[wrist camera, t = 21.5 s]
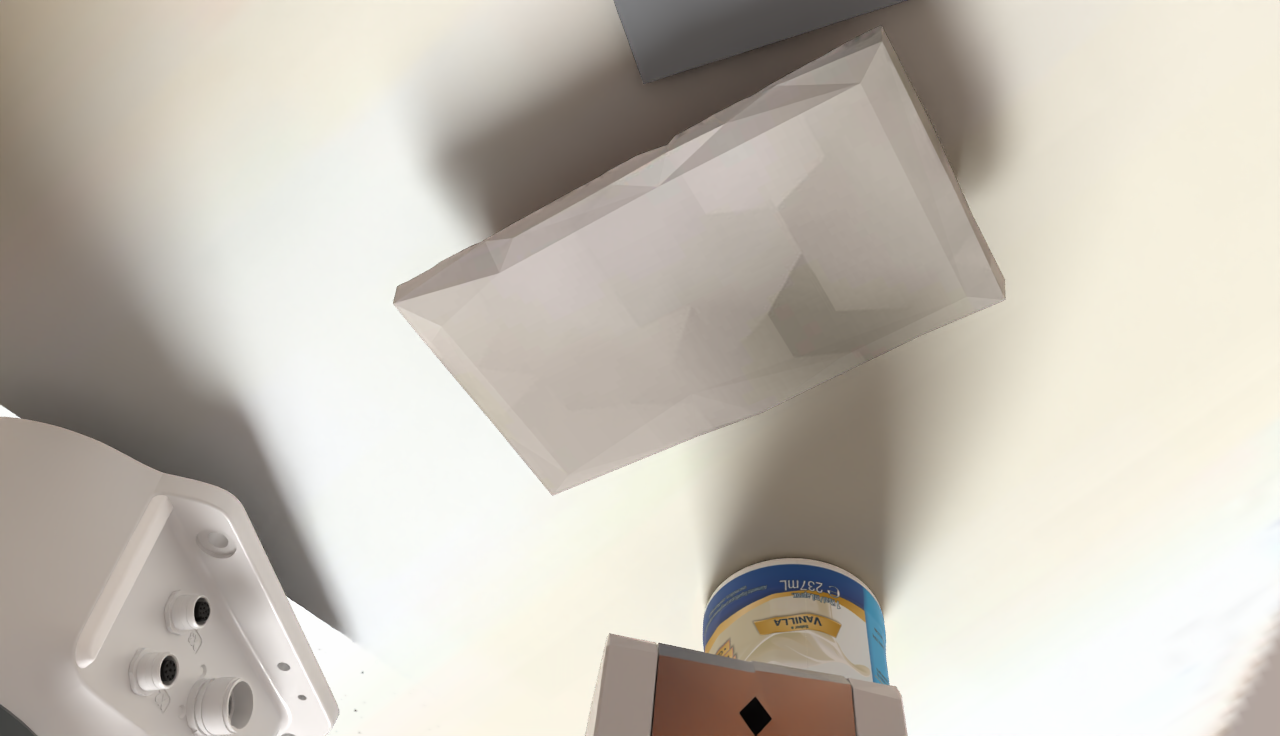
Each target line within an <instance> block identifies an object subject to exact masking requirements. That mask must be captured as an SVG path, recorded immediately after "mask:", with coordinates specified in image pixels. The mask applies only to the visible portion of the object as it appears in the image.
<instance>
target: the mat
mask: <svg viewBox="0 0 1280 736" xmlns="http://www.w3.org/2000/svg"><path fill="white" fill-rule="evenodd" d="M903 1H907V0H614V3H615V6H616V8H617V11H618V14H619V17H620V20H621V22H622V25H623V28H624V31H625V33H626V36H627V39H628V42H629V45H630V47H631V50H632V53H633V56H634V58H635V61H636V64H637V67H638V70H639V72H640V75H641V78H642V81H643V83H644V84H646V83H649V82H652V81H655V80H658V79H662V78H665V77H668V76H671V75H674V74H677V73H680V72H684V71H687V70H690V69H693V68H696V67H699V66H702V65H706V64H709V63H712V62H715V61H718V60H721V59H724V58H728V57H731V56H734V55H737V54H740V53H743V52H746V51H750V50H753V49H756V48H759V47H762V46H765V45H768V44H772V43H775V42H778V41H781V40H784V39H787V38H790V37H794V36H797V35H800V34H803V33H806V32H809V31H812V30H815V29H819V28H822V27H825V26H828V25H831V24H834V23H837V22H841V21H844V20H847V19H850V18H853V17H856V16H859V15H863V14H866V13H869V12H872V11H875V10H878V9H881V8H885V7H888V6H891V5H894V4H897V3H900V2H903Z"/></svg>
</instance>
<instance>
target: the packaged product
mask: <svg viewBox="0 0 1280 736" xmlns="http://www.w3.org/2000/svg"><path fill="white" fill-rule="evenodd" d="M1004 300H1005V279H1004V277H1003V275H1002V273H1001V271H1000V269H999V267H998V265H997V263H996V261H995V259H994V257H993V255H992V253H991V251H990V249H989V247H988V245H987V243H986V241H985V239H984V237H983V235H982V233H981V231H980V229H979V227H978V225H977V223H976V221H975V219H974V217H973V215H972V213H971V211H970V208H969V206H968V204H967V202H966V199H965V197H964V195H963V193H962V190H961V188H960V186H959V184H958V181H957V179H956V177H955V175H954V173H953V170H952V168H951V166H950V164H949V161H948V159H947V157H946V155H945V152H944V150H943V148H942V146H941V144H940V141H939V139H938V137H937V135H936V132H935V130H934V128H933V126H932V124H931V122H930V120H929V118H928V116H927V114H926V112H925V110H924V108H923V106H922V104H921V102H920V100H919V98H918V96H917V94H916V92H915V90H914V88H913V86H912V84H911V82H910V80H909V78H908V76H907V74H906V72H905V70H904V68H903V66H902V64H901V62H900V61H899V59H898V57H897V55H896V53H895V51H894V49H893V47H892V45H891V43H890V41H889V39H888V37H887V35H886V33H885V31H884V29H883V27H882V25H880V26H878V27H876V28H874V29H872V30H870V31H868V32H866V33H864V34H862V35H860V36H858V37H856V38H854V39H852V40H850V41H848V42H846V43H844V44H842V45H841V46H839V47H837V48H836V49H834V50H832V51H831V52H829V53H827V54H825V55H824V56H822V57H820V58H818V59H816V60H814V61H812V62H810V63H808V64H806V65H804V66H803V67H801V68H799V69H797V70H795V71H794V72H792V73H790V74H788V75H786V76H785V77H783V78H781V79H779V80H777V81H776V82H774V83H772V84H770V85H768V86H767V87H765V88H763V89H762V90H760V91H759V92H757V93H756V94H754V95H752V96H750V97H748V98H745V99H743V100H741V101H739V102H737V103H735V104H733V105H731V106H729V107H727V108H725V109H723V110H721V111H719V112H717V113H716V114H714V115H712V116H710V117H708V118H707V119H705V120H703V121H702V122H700V123H698V124H696V125H694V126H692V127H691V128H689V129H687V130H685V131H683V132H681V133H679V134H677V135H675V136H674V137H673V139H672V140H671V141H670V142H669V143H668V145H665V146H662V147H659V148H656V149H654V150H651V151H648V152H645V153H642V154H640V155H637V156H635V157H633V158H631V159H630V160H628V161H626V162H624V163H622V164H620V165H618V166H617V167H615V168H613V169H611V170H609V171H607V172H606V173H604V174H603V175H601V176H600V177H598V178H596V179H594V180H592V181H590V182H588V183H587V184H585V185H583V186H581V187H579V188H577V189H575V190H573V191H571V192H570V193H568V194H566V195H564V196H562V197H560V198H559V199H557V200H555V201H553V202H551V203H550V204H548V205H546V206H544V207H542V208H541V209H539V210H537V211H535V212H533V213H531V214H530V215H528V216H526V217H524V218H522V219H521V220H519V221H517V222H515V223H513V224H512V225H510V226H508V227H506V228H505V229H503V230H501V231H499V232H497V233H496V234H494V235H492V236H490V237H488V238H487V239H485V240H483V241H482V242H480V243H478V244H475V245H473V246H470V247H468V248H466V249H464V250H462V251H460V252H458V253H456V254H455V255H453V256H451V257H449V258H447V259H445V260H443V261H441V262H440V263H438V264H437V265H435V266H434V267H433V268H431V269H429V270H428V271H426V272H424V273H422V274H420V275H418V276H417V277H415V278H413V279H411V280H409V281H407V282H405V283H403V284H401V285H399V286H397V289H396V293H395V297H394V301H393V304H394V306H395V307H396V308H397V309H398V310H399V312H400V313H401V314H402V315H403V317H404V318H405V319H406V320H407V321H408V323H409V324H410V325H411V326H412V328H413V329H414V330H415V331H416V332H417V334H418V335H419V336H420V337H421V338H422V340H423V341H424V342H425V343H426V345H427V346H428V347H429V348H430V349H431V351H432V352H433V353H434V354H435V355H436V356H437V358H438V359H439V360H440V361H441V362H442V364H443V365H444V366H445V367H446V368H447V370H448V371H449V372H450V373H451V374H452V375H453V377H454V378H455V379H456V380H457V381H458V383H459V384H460V385H461V386H462V387H463V389H464V390H465V391H466V392H467V393H468V394H469V396H470V397H471V398H472V399H473V400H474V402H475V403H476V404H477V405H478V406H479V407H480V409H481V410H482V411H483V412H484V413H485V415H486V416H487V417H488V418H489V419H490V421H491V422H492V423H493V424H494V425H495V426H496V428H497V429H498V430H499V431H500V432H501V434H502V435H503V436H504V437H505V439H506V440H507V441H508V442H509V443H510V445H511V446H512V447H513V448H514V450H515V451H516V452H517V453H518V454H519V456H520V457H521V458H522V459H523V461H524V462H525V463H526V464H527V465H528V467H529V468H530V469H531V470H532V471H533V473H534V474H535V475H536V476H537V478H538V479H539V480H540V481H541V482H542V484H543V485H544V486H545V487H546V489H547V490H548V491H549V492H550V493H551V495H552V496H553V495H555V494H558V493H560V492H563V491H565V490H568V489H570V488H572V487H575V486H577V485H580V484H582V483H585V482H587V481H590V480H592V479H595V478H597V477H599V476H602V475H604V474H607V473H609V472H612V471H614V470H617V469H619V468H621V467H624V466H626V465H629V464H631V463H634V462H636V461H639V460H641V459H643V458H646V457H648V456H651V455H653V454H656V453H658V452H661V451H663V450H666V449H668V448H670V447H673V446H675V445H678V444H680V443H683V442H685V441H688V440H690V439H692V438H695V437H697V436H700V435H703V434H706V433H708V432H711V431H714V430H716V429H719V428H722V427H725V426H727V425H730V424H733V423H736V422H738V421H741V420H744V419H747V418H749V417H752V416H755V415H758V414H760V413H763V412H765V411H767V410H769V409H771V408H773V407H775V406H777V405H779V404H781V403H783V402H785V401H787V400H789V399H791V398H793V397H795V396H797V395H799V394H801V393H803V392H805V391H807V390H809V389H811V388H813V387H816V386H818V385H820V384H822V383H824V382H826V381H828V380H830V379H832V378H834V377H836V376H838V375H840V374H842V373H844V372H846V371H848V370H850V369H852V368H855V367H857V366H859V365H861V364H863V363H865V362H867V361H869V360H871V359H873V358H875V357H877V356H879V355H881V354H884V353H886V352H888V351H890V350H892V349H894V348H896V347H898V346H900V345H902V344H904V343H906V342H908V341H910V340H913V339H915V338H917V337H919V336H921V335H923V334H925V333H928V332H930V331H933V330H935V329H937V328H940V327H942V326H944V325H947V324H949V323H952V322H954V321H956V320H959V319H961V318H963V317H966V316H968V315H971V314H973V313H975V312H978V311H980V310H983V309H985V308H987V307H990V306H992V305H994V304H997V303H999V302H1002V301H1004Z"/></svg>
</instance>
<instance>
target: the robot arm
mask: <svg viewBox="0 0 1280 736" xmlns="http://www.w3.org/2000/svg"><path fill="white" fill-rule="evenodd" d="M338 716H339V708H338V705H337V703H336V700H335V698H334V696H333V694H332V692H331V690H330V687H329V685H328V683H327V681H326V679H325V677H324V675H323V673H322V671H321V669H320V666H319V664H318V662H317V660H316V658H315V656H314V654H313V652H312V650H311V647H310V645H309V643H308V641H307V639H306V637H305V635H304V633H303V631H302V629H301V626H300V624H299V622H298V620H297V618H296V616H295V614H294V612H293V610H292V608H291V605H290V603H289V601H288V599H287V597H286V595H285V593H284V591H283V589H282V586H281V584H280V582H279V580H278V578H277V576H276V574H275V572H274V570H273V568H272V565H271V563H270V561H269V559H268V557H267V555H266V553H265V551H264V549H263V547H262V544H261V542H260V540H259V538H258V536H257V534H256V532H255V530H254V528H253V525H252V523H251V521H250V519H249V517H248V515H247V513H246V511H245V509H244V507H243V505H242V504H241V502H240V501H239V500H238V499H237V498H236V497H235V496H234V495H233V494H231V493H230V492H228V491H226V490H225V489H222V488H220V487H218V486H215V485H212V484H209V483H205V482H201V481H198V480H194V479H189V478H185V477H181V476H176V475H172V474H167V473H163V472H160V471H158V470H155V469H153V468H151V467H149V466H147V465H145V464H142V463H141V462H139V461H137V460H135V459H133V458H131V457H129V456H127V455H126V454H124V453H122V452H120V451H118V450H116V449H114V448H112V447H110V446H108V445H106V444H104V443H102V442H100V441H97V440H95V439H93V438H90V437H88V436H85V435H82V434H80V433H77V432H74V431H71V430H68V429H65V428H62V427H59V426H55V425H51V424H47V423H43V422H38V421H33V420H27V419H20V418H11V417H0V736H326V735H327V734H328V733H329V732H330V730H331V729H332V728H333V726H334V724H335V722H336V720H337V718H338ZM585 736H908V735H907V728H906V721H905V714H904V708H903V701H902V696H901V694H900V692H899V690H898V689H897V687H896V686H890V685H885V684H879V683H874V682H868V681H863V680H857V679H852V678H845V677H844V676H840V675H834V674H828V673H822V672H816V671H810V670H804V669H798V668H793V667H787V666H781V665H775V664H769V663H763V662H757V661H750V662H748V661H743V660H738V659H734V658H729V657H724V656H719V655H714V654H710V653H705V652H700V651H695V650H691V649H686V648H681V647H676V646H672V645H667V644H662V643H658V644H656V643H655V642H650V641H645V640H640V639H635V638H630V637H625V636H620V635H615V634H610V633H609V635H608V636H607V639H606V643H605V647H604V651H603V656H602V660H601V664H600V669H599V673H598V677H597V682H596V686H595V690H594V695H593V699H592V704H591V709H590V713H589V718H588V723H587V728H586V733H585Z"/></svg>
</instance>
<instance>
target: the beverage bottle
mask: <svg viewBox="0 0 1280 736" xmlns="http://www.w3.org/2000/svg"><path fill="white" fill-rule="evenodd" d="M703 646H704V652H705V653H710V654H714V655H719V656H724V657H729V658H734V659H738V660H743V661H748V662H750V661H757V662H763V663H769V664H775V665H781V666H787V667H793V668H798V669H804V670H810V671H816V672H822V673H828V674H834V675H840V676H844V677H845V678H852V679H857V680H863V681H868V682H874V683H879V684H885V685H889V678H888V670H887V662H886V634H885V625H884V618H883V613H882V610H881V607H880V605H879V603H878V601H877V599H876V597H875V596H874V594H873V593H872V592H871V590H870V589H869V588H868V587H867V586H866V585H865V584H864V583H863V582H862V581H861V580H859V579H858V578H857V577H855V576H854V575H852V574H851V573H849V572H847V571H845V570H843V569H841V568H839V567H837V566H834V565H831V564H828V563H825V562H821V561H817V560H811V559H803V558H782V559H773V560H768V561H763V562H760V563H756V564H753V565H751V566H748V567H746V568H744V569H742V570H740V571H738V572H736V573H734V574H733V575H731V576H730V577H729V578H727V579H726V580H725V581H724V582H723V583H722V584H721V585H720V586H719V587H718V588H717V589H716V590H715V592H714V593H713V594H712V596H711V598H710V600H709V602H708V604H707V606H706V609H705V613H704V620H703Z"/></svg>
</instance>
